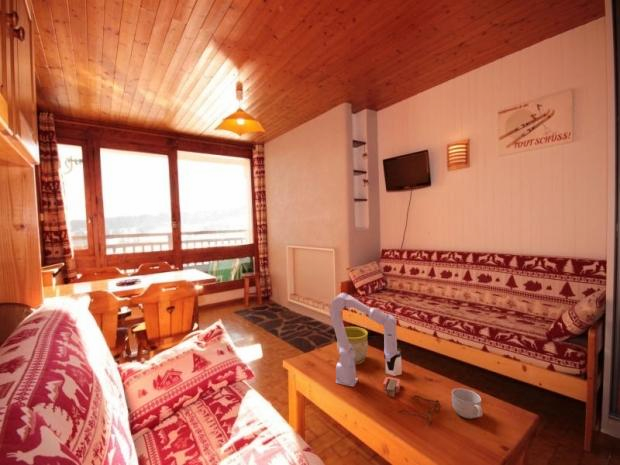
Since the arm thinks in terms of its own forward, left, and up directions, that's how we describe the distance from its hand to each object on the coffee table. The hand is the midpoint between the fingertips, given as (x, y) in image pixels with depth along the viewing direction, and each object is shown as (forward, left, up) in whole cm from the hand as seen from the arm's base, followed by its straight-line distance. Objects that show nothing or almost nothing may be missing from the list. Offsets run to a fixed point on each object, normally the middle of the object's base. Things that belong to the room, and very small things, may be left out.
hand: (391, 369), depth 140 cm
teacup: (+32, -8, -10) cm, 34 cm away
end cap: (0, +1, -9) cm, 10 cm away
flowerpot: (-26, +21, -10) cm, 35 cm away
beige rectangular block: (+1, -2, -10) cm, 10 cm away
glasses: (+13, -12, -10) cm, 20 cm away
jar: (-2, +16, -10) cm, 19 cm away
